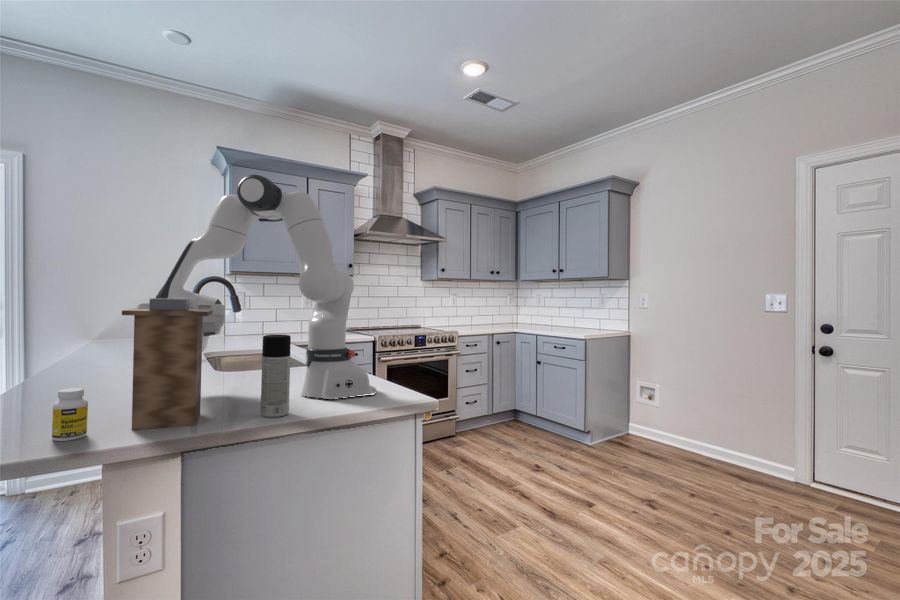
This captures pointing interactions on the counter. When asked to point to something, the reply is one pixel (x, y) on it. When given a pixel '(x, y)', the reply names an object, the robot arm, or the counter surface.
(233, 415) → the counter surface
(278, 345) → the spray can
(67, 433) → the supplement bottle
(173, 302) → the dark grey flat block
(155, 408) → the pedestal
